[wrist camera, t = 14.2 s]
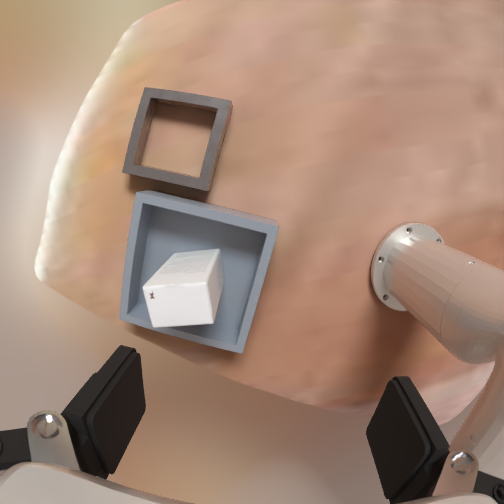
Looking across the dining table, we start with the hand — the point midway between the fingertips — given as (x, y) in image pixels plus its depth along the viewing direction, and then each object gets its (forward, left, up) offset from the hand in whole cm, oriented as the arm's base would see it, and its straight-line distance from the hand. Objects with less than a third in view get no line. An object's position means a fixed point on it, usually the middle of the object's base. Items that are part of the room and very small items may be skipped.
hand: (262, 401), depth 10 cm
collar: (+12, -10, -28) cm, 32 cm away
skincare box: (+6, +5, -27) cm, 28 cm away
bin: (+6, +5, -28) cm, 29 cm away
